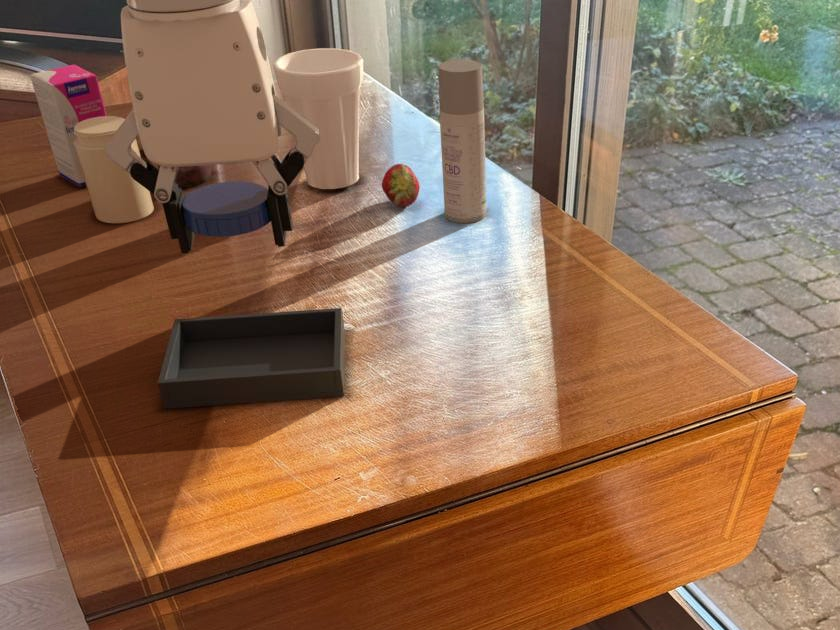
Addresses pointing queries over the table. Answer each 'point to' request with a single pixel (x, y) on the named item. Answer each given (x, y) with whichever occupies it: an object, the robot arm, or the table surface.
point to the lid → (226, 209)
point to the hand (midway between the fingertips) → (234, 241)
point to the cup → (326, 109)
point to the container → (462, 140)
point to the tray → (254, 358)
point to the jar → (109, 174)
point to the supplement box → (67, 112)
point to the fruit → (401, 185)
